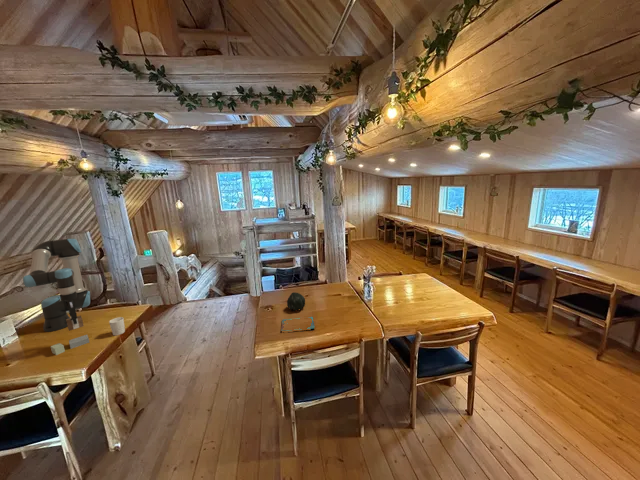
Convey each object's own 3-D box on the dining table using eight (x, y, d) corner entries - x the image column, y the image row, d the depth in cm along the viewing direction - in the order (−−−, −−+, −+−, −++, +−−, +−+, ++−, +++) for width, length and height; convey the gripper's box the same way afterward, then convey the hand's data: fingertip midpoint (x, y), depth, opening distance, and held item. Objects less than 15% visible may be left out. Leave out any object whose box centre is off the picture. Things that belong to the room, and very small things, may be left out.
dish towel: (315, 331, 173) (315, 327, 173) (280, 334, 171) (280, 330, 171) (313, 318, 190) (313, 315, 190) (281, 321, 188) (281, 318, 188)
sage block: (52, 353, 159) (50, 346, 158) (60, 349, 162) (59, 343, 162) (56, 355, 156) (54, 348, 155) (65, 351, 160) (63, 345, 159)
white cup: (124, 328, 185) (121, 316, 183) (127, 332, 180) (124, 319, 178) (110, 333, 179) (107, 320, 177) (113, 337, 174) (110, 323, 172)
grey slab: (69, 345, 167) (68, 340, 166) (88, 339, 174) (87, 334, 173) (70, 349, 162) (69, 344, 162) (89, 342, 169) (88, 338, 168)
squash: (310, 299, 211) (298, 286, 211) (305, 307, 197) (292, 293, 196) (299, 308, 215) (286, 295, 215) (293, 318, 201) (280, 304, 201)
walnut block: (68, 328, 165) (65, 319, 164) (82, 323, 170) (80, 315, 169) (69, 330, 161) (66, 322, 160) (83, 326, 167) (81, 317, 166)
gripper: (58, 291, 165) (66, 324, 169) (61, 298, 153) (69, 333, 157) (74, 288, 170) (81, 320, 175) (78, 294, 158) (85, 328, 163)
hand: (75, 326), depth 166 cm, fingers closed on walnut block, 5 cm apart
